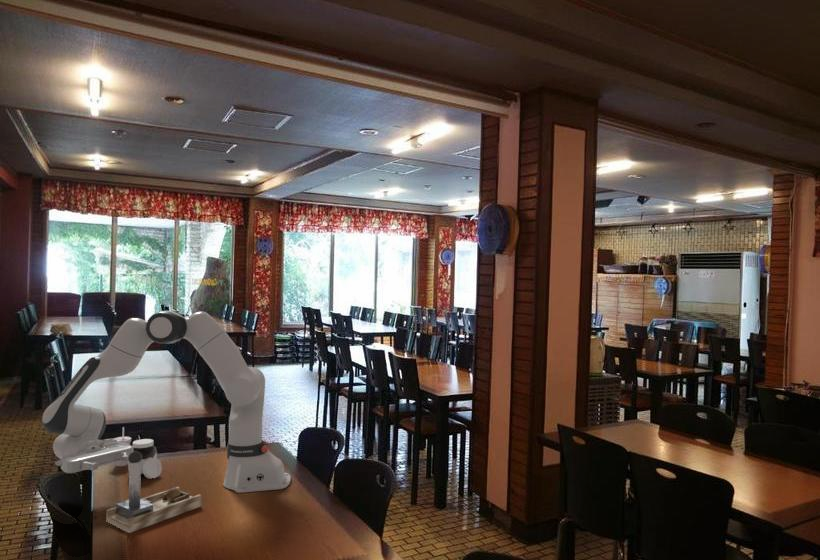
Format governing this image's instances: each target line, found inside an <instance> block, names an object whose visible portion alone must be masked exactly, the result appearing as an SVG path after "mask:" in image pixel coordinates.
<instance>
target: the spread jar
mask: <svg viewBox="0 0 820 560" xmlns="http://www.w3.org/2000/svg"><path fill="white" fill-rule="evenodd" d="M132 446H133V451H134V452H135V451H137V452H140V453H141V455H142V460H141V478H147V479H149V480H152V478H153V479H156V478H158V477H159V476H160V475H161V473H162V471H163V470H162V469H163V467H162V466H163V465H162V462H161V461H160V459H158V451H157V447H156V446H154V439H151V438H143V439H141V438H140V439H136V440H134V441H133V442H132ZM127 465H128V467H127V468H128V471H129V461H128V462H127Z"/></svg>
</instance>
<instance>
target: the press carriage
mask: <svg viewBox="0 0 820 560" xmlns="http://www.w3.org/2000/svg"><path fill="white" fill-rule="evenodd" d="M141 460H142V455H141V453H140V452H137V451H135V452H132V453H131V454H130V455H129V457H128V461H129V470H128V476H129V477H128V499H127V500H124V501H121V502H117V503H115V507H116V514H118V515H120V516H123V517H125V518H127V519H130V518H133V517H136V516H139V515H142V514H145V513H147V512H150V511H153V504H151V502H150V501H148V500H145V499H143V498H144V497H142V498H141V485H142V484H141V478H142V477H141Z"/></svg>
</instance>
